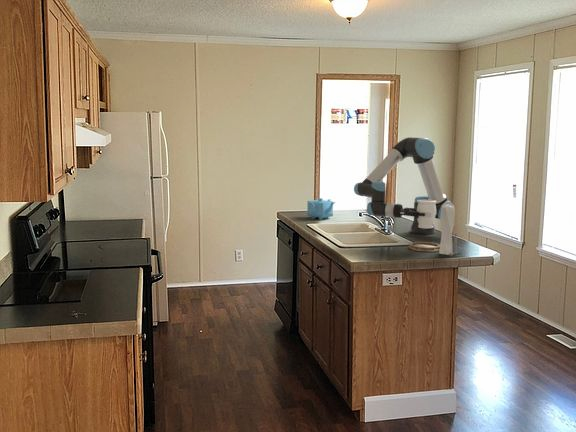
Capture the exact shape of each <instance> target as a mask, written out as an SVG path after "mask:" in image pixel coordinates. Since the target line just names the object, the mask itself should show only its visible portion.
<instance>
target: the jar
mask: <svg viewBox="0 0 576 432" xmlns="http://www.w3.org/2000/svg"><path fill="white" fill-rule="evenodd" d="M417 202H418V206H417V212H432V216H431V217H419V218H417V220H418V223H419V225H418V227H419V228H426V229H429V228H433V224H434V223H435V219H436V218H435V216H436V205H435V203H436V201H435V200H427V199H422V200H417Z"/></svg>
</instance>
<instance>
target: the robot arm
mask: <svg viewBox="0 0 576 432" xmlns="http://www.w3.org/2000/svg"><path fill="white" fill-rule="evenodd" d="M435 151H436V147H435V144H434V142H433V141H432V140H431V139H430V138H426V137H412V136H411V137H410V136H409V137H405V138H403V139H401V140H400V141H398V142H397V143H396V144H395V145H394V146H393V147H392V148H391V149H390V150H389V153H388V154H386V156H385V157H384V158H383V159H382V161H380V163H379V164H378V165H377V166H376V167H375V168H374V169H373V170H372V171H371V172H370V173H369V174H368V176H366V177H365V178H364V180H363V181H362V182H357V183H356V184H355V185H354V186H353V191H354V194H355V195H356V196H360V197H368V198H370V199H371V201H369V202H368V203H367V205H366V213H367V215H369V216H375V217H388V219H391V218H397V219H398V218H400V219H401V218H402V216H406V217H412V218H413V221H412V224H411V226H410V229H409V230H410V231H409V232H410V233H412V234H419V235H432V234H435V233H436V228H435V226H434V225H435V224H434V223H433V228H429V229H426V228H419V227H418V225H419V223H418V220H417V218H419V217H431V216H432V212H417V206H418V202H417V200H422V199H427V200H435V201H436V203H435V205H436V216H435V219H436V220H437V219H438V220H441V208H442V205H443V204H444V203H451V204H453V205H454V203H453V202H452V201H450V200H448V198H447V195H446V194H445V193H443V190H442V188H441V185H440V182H439V177H438V175H437V172H436V168H435V166H434V163H433V159H434V155H435ZM406 158H412V160H413V163H414V164H416V165H417V167H418V170H419V173H420V176H421V179H422V182H423V185H424V188H425V191H426V194H427V195H424V196H416V197H415V198H414V202H413V207H403V204H400V203H396V204H395V203H387V202H386V201H385V200H386V183H385V182H384V181H382V180H383V179H384V178H385V177H386V176H387V175H388V174H389V173H390V172H391V171H392V170H393V168H394V167H395V166H396V165H397V164H398V163H399V162H403V161H404V160H405V159H406ZM451 204H449V205H451ZM453 205H451V206H452V207H453ZM443 206H444V205H443ZM445 206H446V205H445Z"/></svg>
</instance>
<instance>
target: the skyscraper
mask: <svg viewBox="0 0 576 432" xmlns="http://www.w3.org/2000/svg"><path fill="white" fill-rule="evenodd" d="M449 204H451V203H444V204H443V205H444V206H443V205H442V208H441V219H440V232H441V236H440V243H439V245H440V250H439V251H438V254H439V255H445V256H454V255H456V254H458V253H457V248H458V247H457V245H458V244H457V242H458V238H457V233H455V234H454V238H452V237H453V234H452V233H453V229H454V227H455V225H454V224H455V219H456V218H455V217H456V216H455V215H456V209H455V207H456V206H455V205H454V203H453V204H451V205H453V207H452V206H451V205H449ZM445 205H446V206H445ZM453 240H454V241H453Z"/></svg>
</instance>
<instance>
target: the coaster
mask: <svg viewBox="0 0 576 432" xmlns="http://www.w3.org/2000/svg"><path fill="white" fill-rule="evenodd" d="M408 249H410V250H411V251H416V252H428V253H433V252H439V250H440V243H437V242H429V241H414V242H410V243H408Z"/></svg>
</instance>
